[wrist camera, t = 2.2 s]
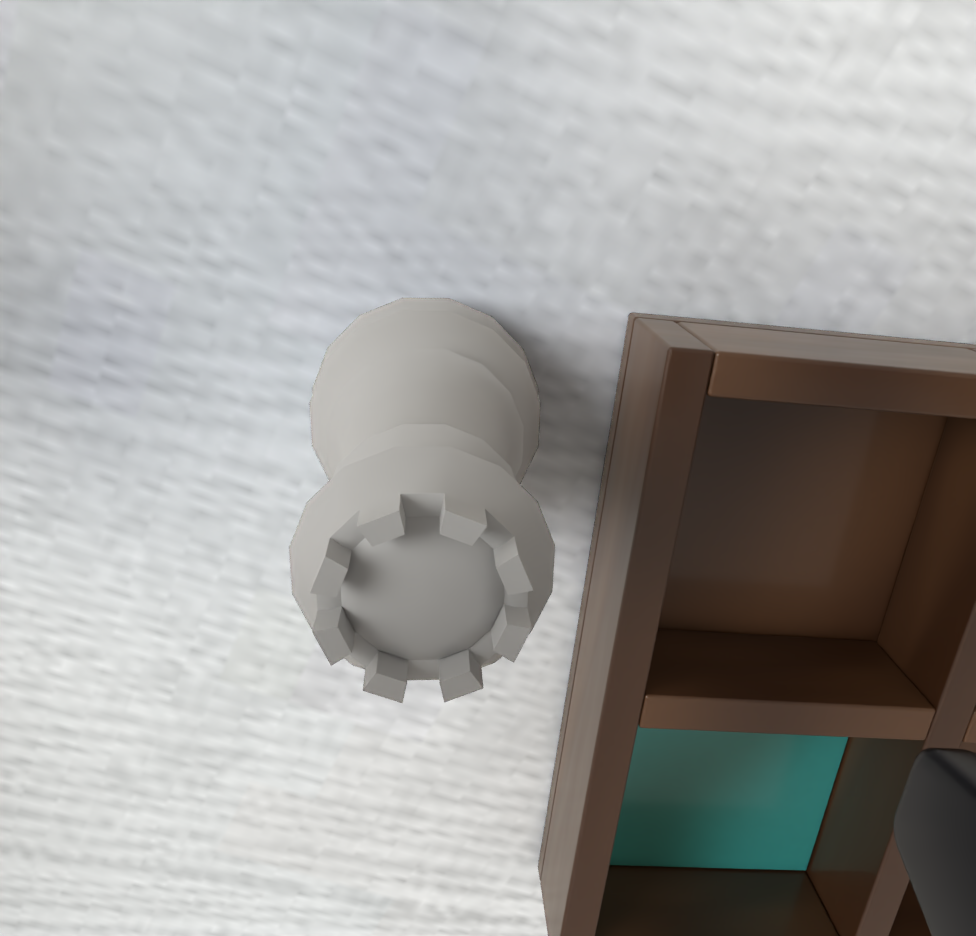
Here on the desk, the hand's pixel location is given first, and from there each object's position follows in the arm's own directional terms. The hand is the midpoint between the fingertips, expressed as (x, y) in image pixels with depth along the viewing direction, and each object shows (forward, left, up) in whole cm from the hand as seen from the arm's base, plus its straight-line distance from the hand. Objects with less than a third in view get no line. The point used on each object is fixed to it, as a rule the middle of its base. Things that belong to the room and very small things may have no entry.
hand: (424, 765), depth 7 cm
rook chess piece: (0, 0, -10) cm, 11 cm away
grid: (-11, +5, -10) cm, 16 cm away
